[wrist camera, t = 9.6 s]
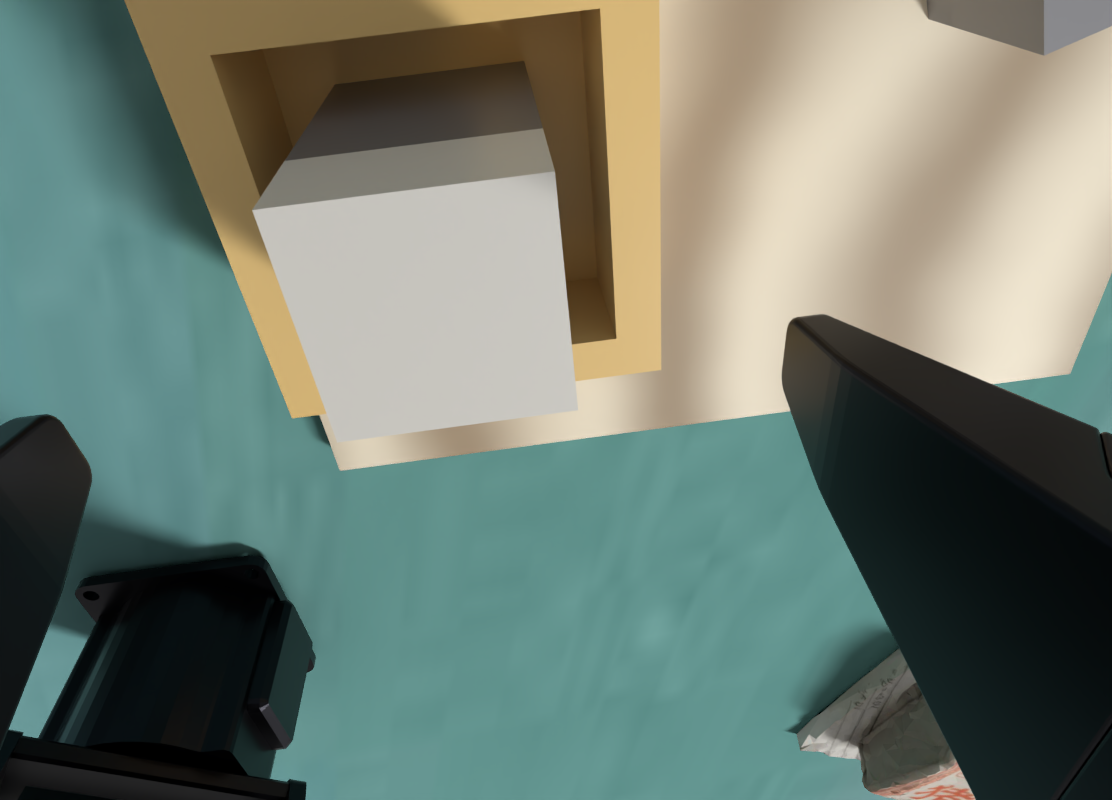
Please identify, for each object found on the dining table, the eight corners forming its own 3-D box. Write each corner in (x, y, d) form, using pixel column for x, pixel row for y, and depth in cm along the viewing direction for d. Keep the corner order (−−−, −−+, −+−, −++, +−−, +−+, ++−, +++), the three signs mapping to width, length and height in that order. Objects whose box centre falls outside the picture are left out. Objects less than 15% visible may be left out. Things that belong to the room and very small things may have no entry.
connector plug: (380, 259, 17) (337, 442, 12) (335, 84, 15) (251, 209, 9) (544, 237, 17) (578, 410, 12) (524, 60, 15) (555, 171, 9)
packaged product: (1251, 775, 34) (1079, 864, 39) (1170, 682, 37) (1024, 773, 42) (988, 713, 28) (825, 827, 33) (925, 609, 31) (788, 726, 36)
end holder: (319, 336, 19) (292, 418, 16) (193, -31, 14) (121, -7, 11) (633, 295, 19) (661, 369, 16) (621, -82, 14) (659, -71, 11)
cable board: (344, 453, 23) (340, 470, 22) (-158, -941, 9) (-208, -1007, 8) (1053, 360, 23) (1070, 373, 22) (1625, -1105, 9) (1710, -1177, 9)
